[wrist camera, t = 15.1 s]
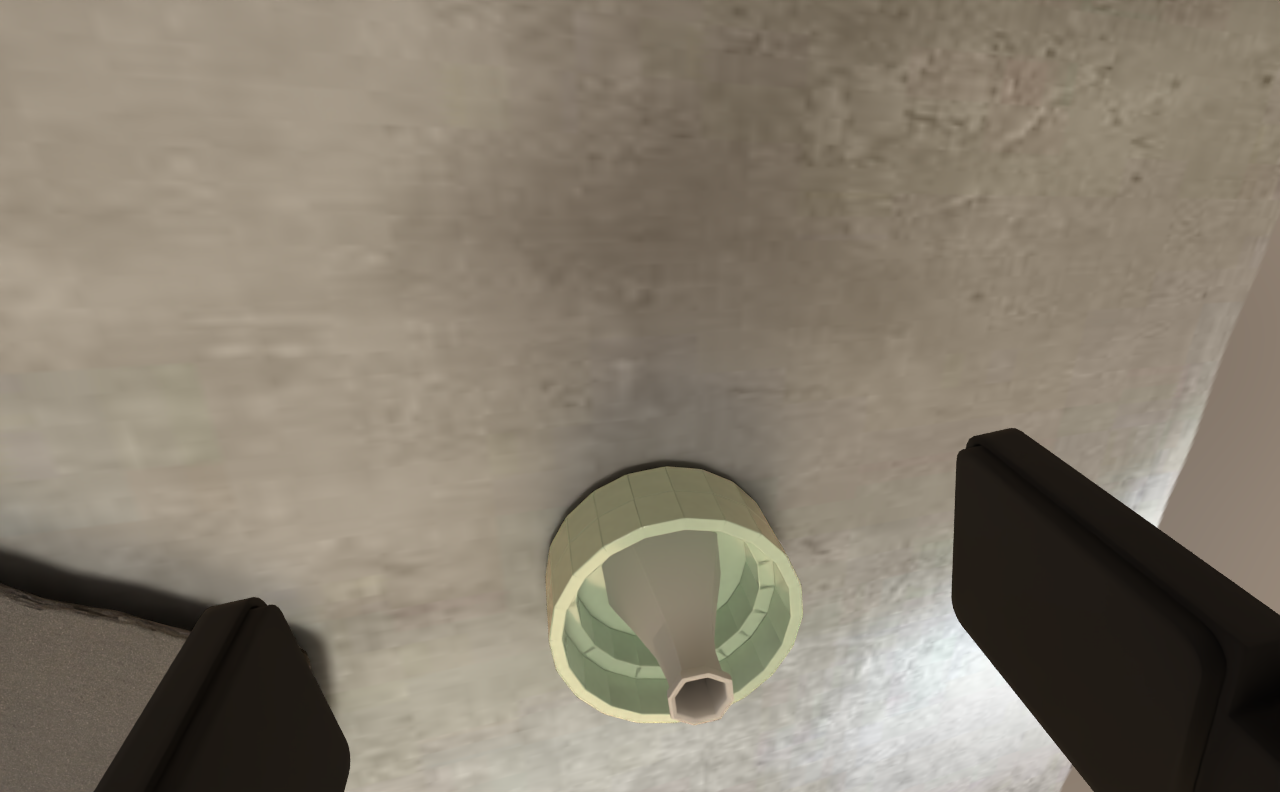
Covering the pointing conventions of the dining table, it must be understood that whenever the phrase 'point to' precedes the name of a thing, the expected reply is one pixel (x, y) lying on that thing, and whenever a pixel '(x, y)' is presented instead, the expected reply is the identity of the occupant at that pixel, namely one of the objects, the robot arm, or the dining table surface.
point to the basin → (747, 601)
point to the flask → (675, 616)
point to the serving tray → (73, 688)
